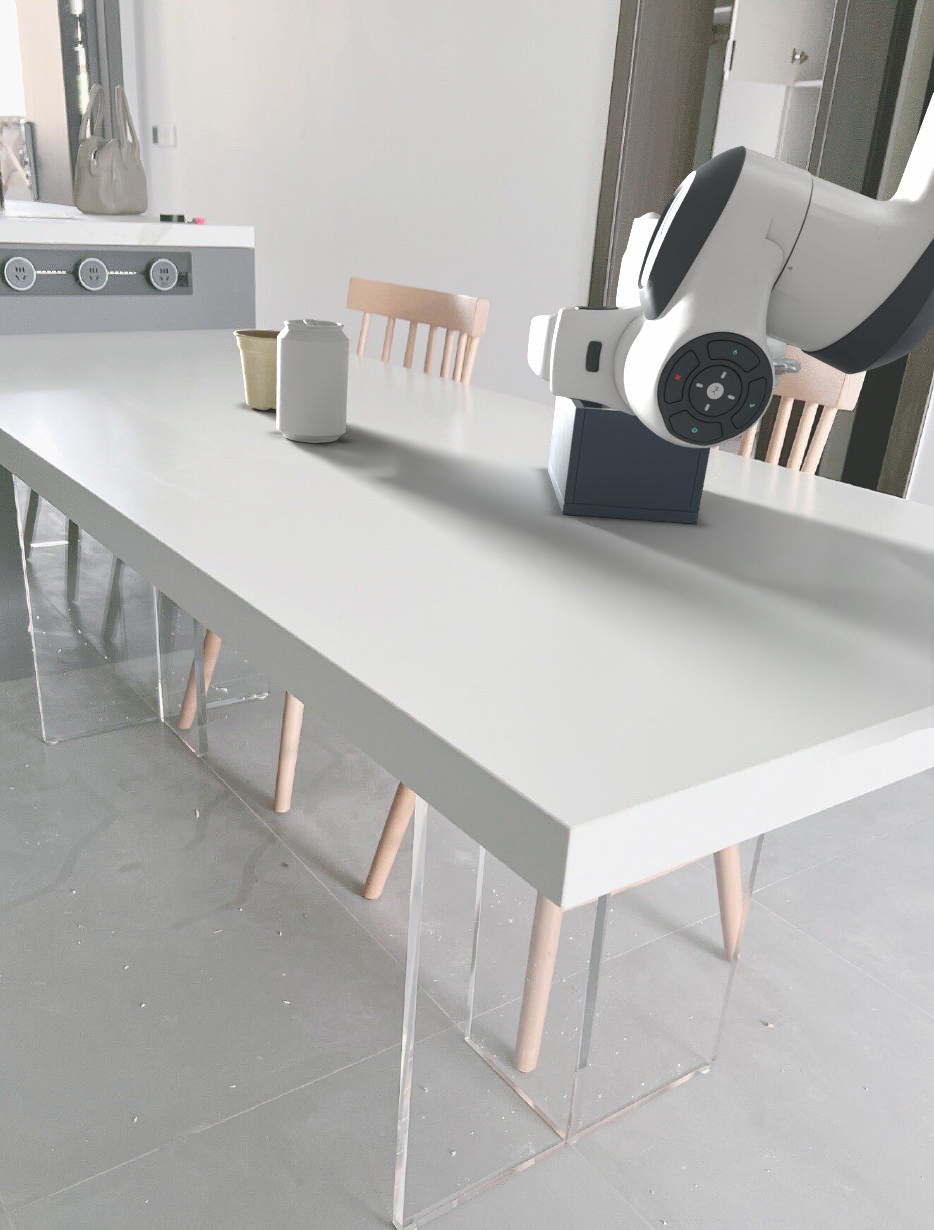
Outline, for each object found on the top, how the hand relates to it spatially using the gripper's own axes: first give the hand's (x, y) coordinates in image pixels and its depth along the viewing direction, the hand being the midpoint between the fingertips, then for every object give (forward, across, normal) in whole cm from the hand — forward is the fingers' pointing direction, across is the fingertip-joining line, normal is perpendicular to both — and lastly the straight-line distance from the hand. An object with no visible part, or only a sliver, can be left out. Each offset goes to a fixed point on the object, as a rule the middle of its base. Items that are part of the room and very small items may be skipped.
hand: (640, 341), depth 92 cm
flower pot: (+36, +38, +14) cm, 54 cm away
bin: (+2, 0, +14) cm, 14 cm away
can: (+19, +31, +14) cm, 39 cm away
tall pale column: (+2, 0, +12) cm, 12 cm away
